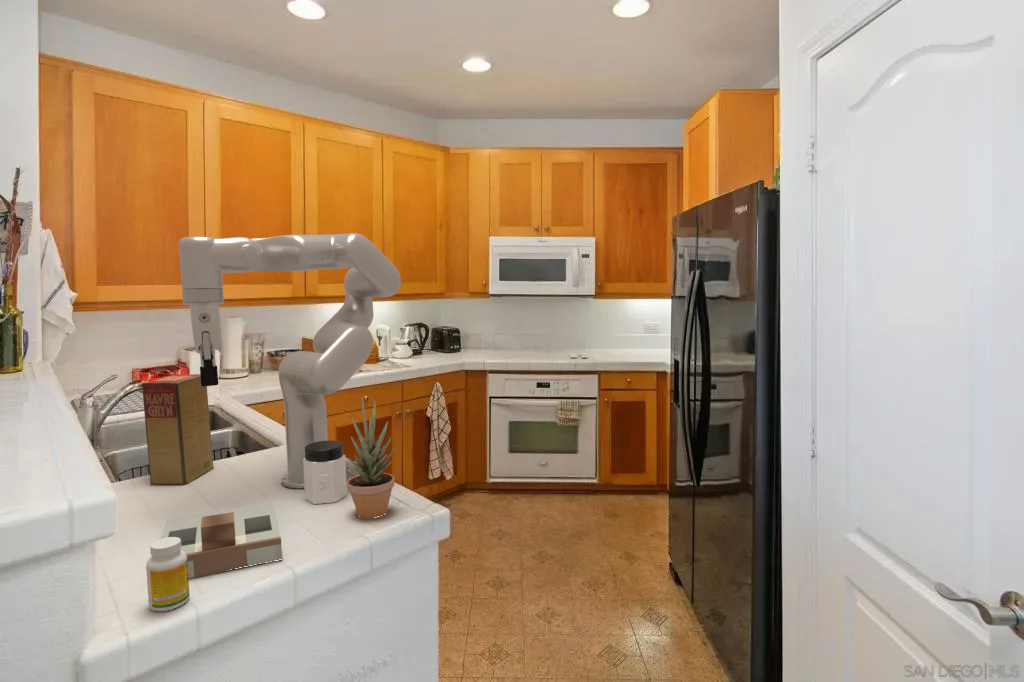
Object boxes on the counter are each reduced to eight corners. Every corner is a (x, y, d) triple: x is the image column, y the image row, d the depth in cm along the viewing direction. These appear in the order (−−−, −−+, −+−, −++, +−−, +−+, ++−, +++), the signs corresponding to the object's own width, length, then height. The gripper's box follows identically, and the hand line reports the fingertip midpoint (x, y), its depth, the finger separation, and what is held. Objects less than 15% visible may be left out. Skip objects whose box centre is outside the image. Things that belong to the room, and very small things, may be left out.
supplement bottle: (143, 605, 90) (138, 544, 89) (180, 590, 94) (175, 531, 93) (159, 616, 87) (154, 553, 86) (196, 600, 91) (192, 540, 90)
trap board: (273, 516, 124) (272, 497, 123) (282, 560, 104) (280, 538, 103) (167, 533, 115) (166, 513, 115) (155, 585, 96) (153, 561, 95)
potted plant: (374, 501, 131) (369, 390, 129) (404, 510, 126) (401, 395, 123) (336, 516, 123) (331, 398, 120) (368, 527, 118) (363, 403, 115)
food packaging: (180, 468, 157) (173, 373, 154) (215, 468, 156) (209, 373, 154) (147, 485, 143) (139, 382, 141) (186, 485, 143) (178, 382, 140)
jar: (303, 506, 129) (300, 452, 128) (307, 493, 137) (304, 442, 136) (346, 502, 131) (343, 448, 130) (347, 489, 139) (345, 439, 138)
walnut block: (235, 539, 106) (233, 511, 105) (235, 550, 101) (234, 522, 101) (203, 544, 104) (201, 517, 103) (202, 556, 99) (200, 527, 99)
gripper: (224, 297, 118) (230, 389, 120) (223, 296, 131) (228, 378, 133) (180, 299, 115) (188, 393, 117) (184, 297, 128) (190, 381, 130)
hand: (209, 385), depth 125 cm, fingers closed
